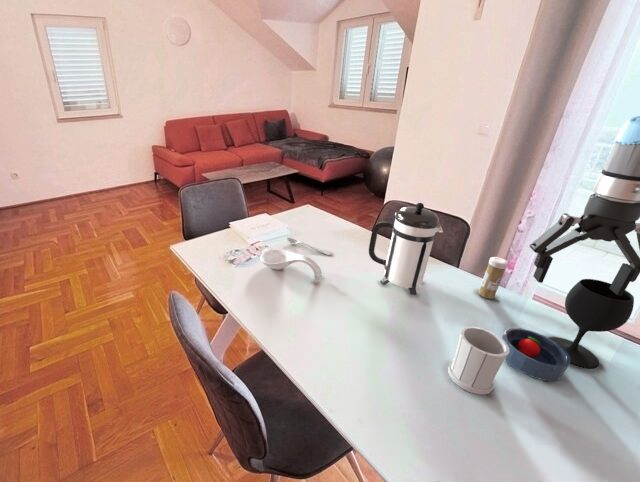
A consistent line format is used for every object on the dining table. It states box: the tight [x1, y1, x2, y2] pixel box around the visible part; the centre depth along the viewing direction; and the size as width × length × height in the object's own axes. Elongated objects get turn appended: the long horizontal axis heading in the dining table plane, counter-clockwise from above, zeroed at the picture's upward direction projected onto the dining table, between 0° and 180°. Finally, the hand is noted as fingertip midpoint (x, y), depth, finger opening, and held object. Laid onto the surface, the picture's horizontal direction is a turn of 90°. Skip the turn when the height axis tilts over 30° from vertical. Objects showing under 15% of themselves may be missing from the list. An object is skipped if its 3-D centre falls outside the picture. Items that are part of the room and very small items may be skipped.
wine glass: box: [548, 278, 635, 370], centre depth 77 cm, size 10×10×20 cm
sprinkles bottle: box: [477, 256, 509, 300], centre depth 101 cm, size 5×5×13 cm
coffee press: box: [368, 202, 444, 296], centre depth 104 cm, size 17×16×30 cm
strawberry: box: [518, 336, 540, 357], centre depth 79 cm, size 4×4×5 cm
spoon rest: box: [259, 249, 323, 283], centre depth 116 cm, size 24×12×7 cm, turn 56°
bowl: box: [501, 327, 571, 381], centre depth 78 cm, size 12×12×5 cm
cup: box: [447, 326, 509, 395], centre depth 72 cm, size 10×9×12 cm
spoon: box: [285, 237, 332, 256], centre depth 133 cm, size 4×21×2 cm, turn 54°
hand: (575, 285), depth 71 cm, fingers open, 13 cm apart
